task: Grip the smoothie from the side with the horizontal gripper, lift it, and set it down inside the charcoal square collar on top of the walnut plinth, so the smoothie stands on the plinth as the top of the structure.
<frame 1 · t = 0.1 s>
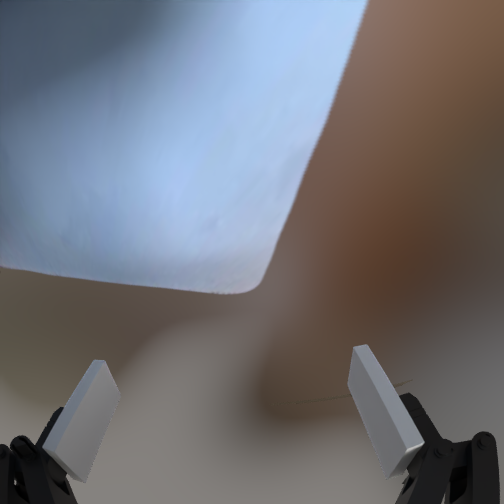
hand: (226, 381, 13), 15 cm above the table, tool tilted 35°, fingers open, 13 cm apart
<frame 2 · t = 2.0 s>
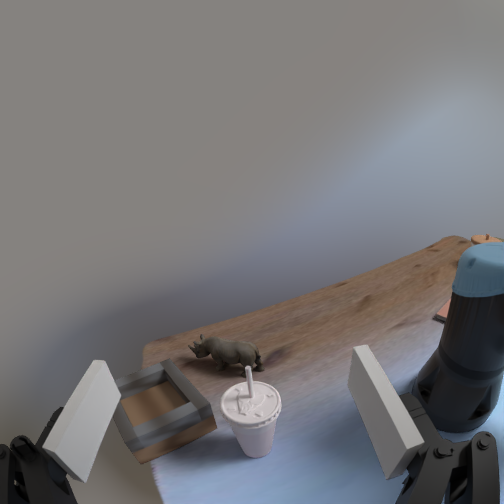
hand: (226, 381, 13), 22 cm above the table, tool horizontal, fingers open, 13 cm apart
smoothie: (257, 447, 29), on the table
lidded bowl: (483, 266, 69), on the table
rhino figurine: (225, 366, 46), on the table
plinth: (160, 420, 33), on the table
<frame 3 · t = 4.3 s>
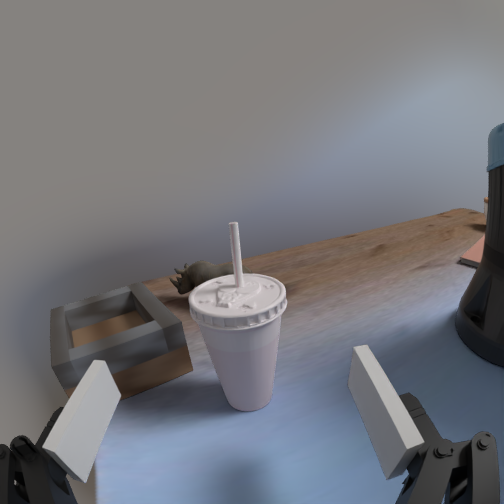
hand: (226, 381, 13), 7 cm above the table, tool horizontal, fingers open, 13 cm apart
smoothie: (249, 396, 21), on the table
lidded bowl: (498, 229, 61), on the table
rhino figurine: (213, 304, 38), on the table
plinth: (119, 360, 25), on the table
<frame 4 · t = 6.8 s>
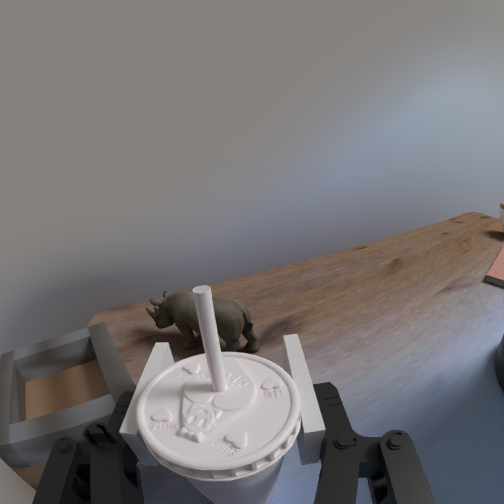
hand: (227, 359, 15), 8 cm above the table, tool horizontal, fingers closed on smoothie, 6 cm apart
smoothie: (242, 493, 12), on the table, touching gripper
rhino figurine: (199, 343, 29), on the table
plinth: (81, 423, 17), on the table
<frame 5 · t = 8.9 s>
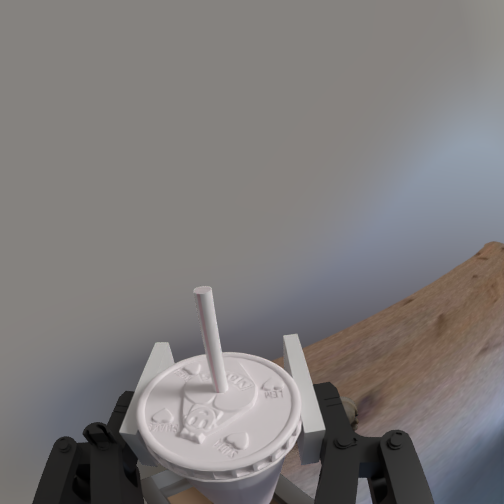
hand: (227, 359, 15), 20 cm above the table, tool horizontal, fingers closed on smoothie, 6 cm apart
smoothie: (242, 493, 12), point 13 cm above the table, touching gripper
rhino figurine: (304, 424, 30), on the table
when the fingers open (12 cm above the table, at t = 11.4 s): smoothie drops 1 cm, resting on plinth.
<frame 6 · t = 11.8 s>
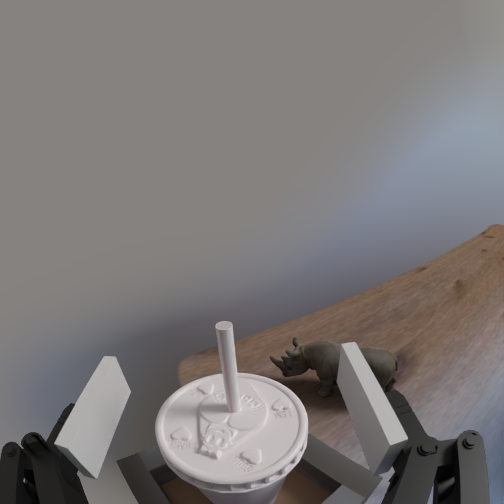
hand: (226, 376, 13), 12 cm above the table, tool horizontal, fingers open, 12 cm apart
smoothie: (245, 499, 13), point 3 cm above the table, touching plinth
rhino figurine: (331, 388, 26), on the table
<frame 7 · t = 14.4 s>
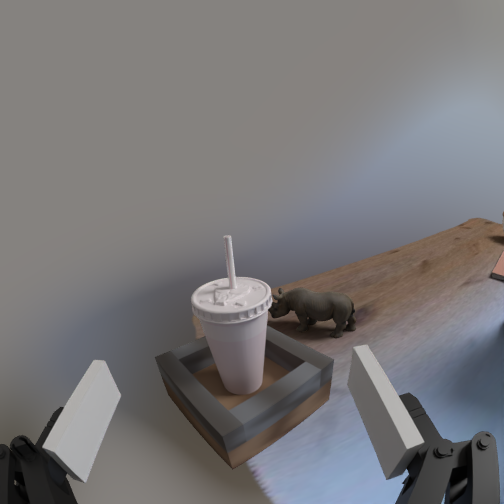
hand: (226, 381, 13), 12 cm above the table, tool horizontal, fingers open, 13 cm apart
smoothie: (243, 382, 25), point 3 cm above the table, touching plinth
rhino figurine: (307, 327, 39), on the table
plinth: (245, 401, 26), on the table
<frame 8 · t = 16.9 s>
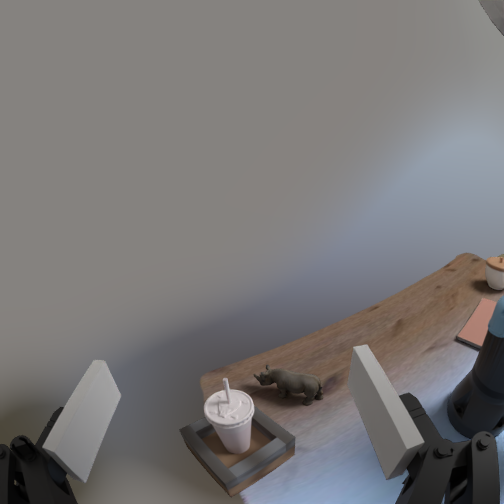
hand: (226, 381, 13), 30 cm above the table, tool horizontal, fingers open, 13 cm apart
smoothie: (237, 445, 34), point 3 cm above the table, touching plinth
lidded bowl: (495, 286, 71), on the table
notebook: (493, 329, 51), on the table
rhino figurine: (287, 393, 48), on the table
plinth: (239, 453, 35), on the table
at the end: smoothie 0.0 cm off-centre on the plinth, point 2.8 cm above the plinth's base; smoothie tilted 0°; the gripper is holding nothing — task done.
